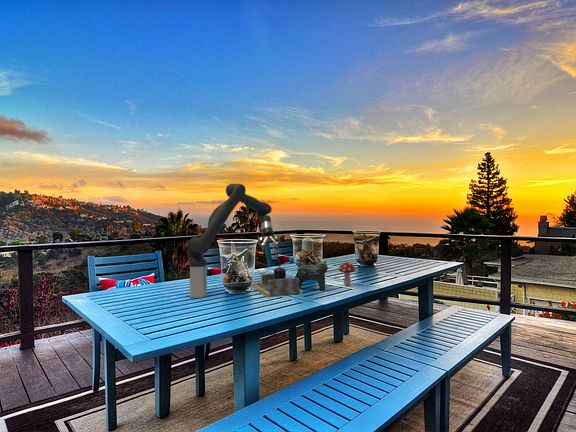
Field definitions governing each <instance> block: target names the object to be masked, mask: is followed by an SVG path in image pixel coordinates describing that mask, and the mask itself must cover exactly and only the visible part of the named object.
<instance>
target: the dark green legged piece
mask: <svg viewBox="0 0 576 432" xmlns="http://www.w3.org/2000/svg"><path fill="white" fill-rule="evenodd" d="M311 260H314V257H313V258H311ZM315 260H317V261H316V264H311V263H309V262H302V263H300V264H299V265H298V267H297V271H296V273H295V277H294V278H299V289H301V290H302V285H303V283H304V282H305V281H308V280H309V281H310V280H311V281H316V282H317V284H318V287H319V291H320V292H325V291H326V275H325V274H326V273H327V271H328V264H327V261H326V260H324V261H323V262H319V261H318V258H316V257H315Z"/></svg>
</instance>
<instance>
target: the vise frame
mask: <svg viewBox="0 0 576 432" xmlns="http://www.w3.org/2000/svg"><path fill="white" fill-rule="evenodd" d="M252 283H253V284H252V286H251V288H253V289H254V290H256V291H257V292H258V293H260V294H262V295H263V296H264V297H266V298H271V297H283V296H292V295H302V294H303V289H302V288H301V289H299V278H295V277H286V279H274V280H268V289H263V288H261V287H260V281H258V282H252ZM267 290H268V291H267Z"/></svg>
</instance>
